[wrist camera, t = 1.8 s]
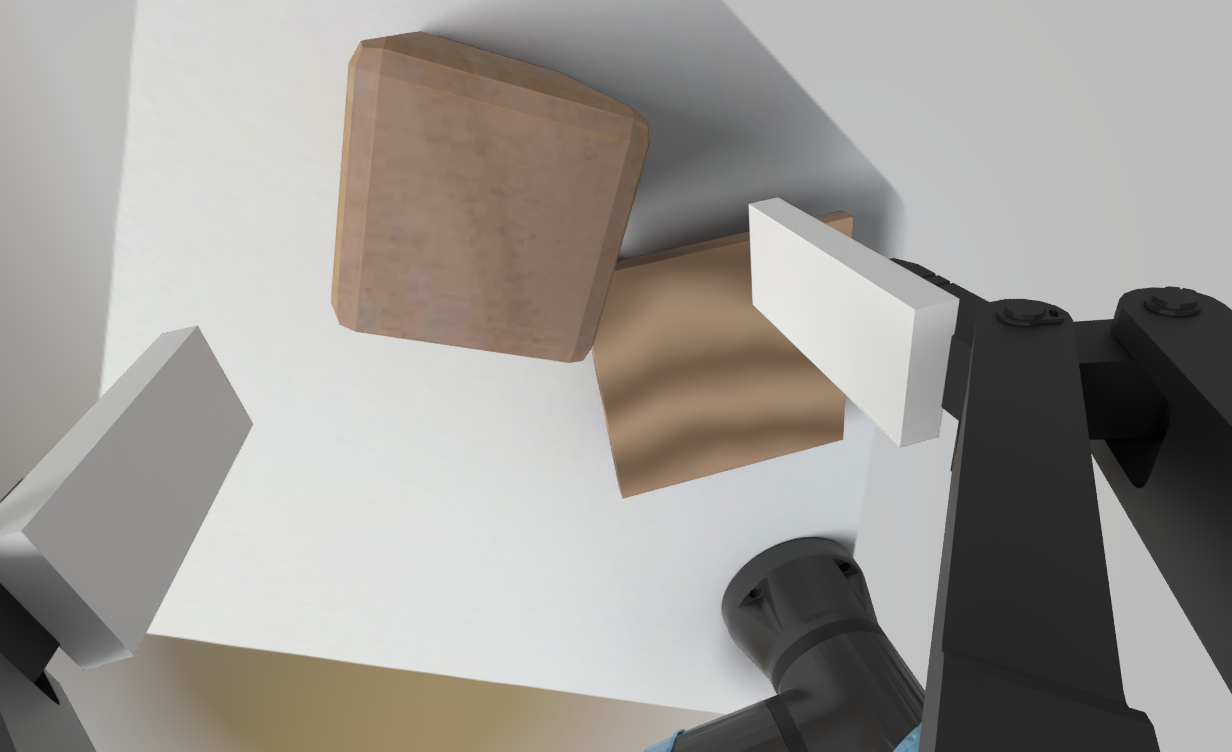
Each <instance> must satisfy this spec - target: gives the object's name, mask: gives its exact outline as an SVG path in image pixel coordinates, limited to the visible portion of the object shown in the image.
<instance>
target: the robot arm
mask: <svg viewBox="0 0 1232 752" xmlns="http://www.w3.org/2000/svg"><path fill="white" fill-rule="evenodd" d="M749 225H750V250H751V274H752V299H753V305H754V306H755V307H756V308H757V309H758V310H759V311H760V312H761V313H762V314H763V315H764V316H765V317H766V318H767V319H768V320H769V321H770V322H771V323H772V324H773V325H774V326H775V327H776V328H778V329H779V330H780V331H781V332H782V333H783V334H784V335H785V336H786V337H787V338H788V339H789V340H790V341H791V342H792V343H793V344H794V345H795V346H796V347H797V348H798V349H799V350H800V351H801V352H802V353H803V354H804V355H805V356H806V357H807V358H808V359H809V360H810V361H811V362H812V363H813V364H815V365H816V366H817V367H818V368H819V369H820V370H821V371H822V372H823V373H824V374H825V375H826V376H827V377H828V378H829V379H830V380H831V381H832V382H833V383H834V384H835V385H836V386H837V387H838V388H839V389H840V390H841V391H842V392H843V393H844V394H845V395H846V396H847V397H848V398H849V399H851V400H852V401H853V402H854V403H855V404H856V405H857V406H858V407H859V408H860V409H861V410H862V411H863V412H864V413H865V414H866V415H867V416H868V417H869V418H870V419H871V420H872V421H873V422H874V423H875V424H876V425H877V426H878V427H880V429H881V430H882V431H883V432H885V434H887V435H888V436H889V437H890V438H891V439H892V440H893V441H894V442H895V443H896V444H897V445H898V446H899V447H900V448H901V447H904V446H908V445H912V444H915V443H919V442H922V441H926V440H929V439H934V438H937V437H939V433H940V426H941V419H942V413H943V409H945V410H946V411H947V412H948V413H950V414H951V415H952V416H953V417H955V418H956V419H957V420H958V421H959V423H958V429H957V436H956V441H955V447H954V453H953V459H952V465H951V471H952V476H951V484H950V493H949V501H948V509H947V517H946V525H945V534H944V542H943V550H942V558H941V567H940V575H939V583H938V592H937V600H936V608H935V617H934V625H933V633H932V641H931V649H930V658H929V666H928V675H927V683H926V691H925V690H924V689H923V687H922V686H921V685H920V683H919V682H918V680H917V679H916V677H915V676H914V675H913V673H912V672H911V670H910V669H909V668H908V666H907V665H906V663H905V662H904V661H903V659H902V658H901V656H900V655H899V654H898V652H897V651H896V649H895V648H894V646H893V645H892V643H891V642H890V641H889V640H888V638H887V636H886V635H885V633H884V632H883V631H882V629H881V627H880V626H879V624H878V622H877V618H876V615H875V611H874V608H873V605H872V601H871V598H870V594H869V591H868V588H867V584H866V581H865V578H864V575H863V573H862V571H861V569H860V567H859V566H858V564H857V563H856V562H855V560H854V559H853V557H852V556H851V555H850V553H849V552H848V551H847V550H846V549H845V548H844V547H843V546H841V545H840V544H838V543H836V542H833V541H830V540H826V539H819V538H807V539H799V540H794V541H790V542H786V543H783V544H780V545H778V546H775V547H773V548H771V549H769V550H767V551H765V552H763V553H762V554H760V555H758V556H757V557H755V558H754V559H753V560H751V561H750V562H749V563H748V564H746V565H745V566H744V567H743V568H742V569H741V570H740V571H739V572H738V573H737V574H736V576H735V577H734V578H733V579H732V581H731V582H730V584H729V586H728V587H727V589H726V591H725V594H724V597H723V601H722V616H723V619H724V622H725V624H726V626H727V628H728V631H729V633H730V635H731V637H732V639H733V640H734V642H735V643H736V645H737V646H738V647H739V648H740V649H741V650H742V651H743V652H744V653H745V654H746V655H747V656H748V657H749V658H750V659H751V661H752V662H753V663H754V664H755V665H756V666H757V667H758V668H759V669H760V670H761V671H762V672H763V673H764V674H765V675H766V677H767V678H768V679H769V680H770V681H771V683H772V685H773V687H774V689H775V691H776V693H777V695H776V696H773V697H771V698H768V699H766V700H763V701H760V702H758V703H755V704H753V705H750V706H748V707H745V708H743V709H740V710H738V711H735V712H733V713H730V714H727V715H725V716H722V717H720V718H717V719H715V720H712V721H710V722H707V723H705V724H702V725H700V726H697V727H695V728H692V729H690V730H687V731H685V730H679V731H677V732H676V733H675V734H674V735H673V736H672V737H670V738H667V739H666V740H663V741H661V742H659V743H657V744H654V745H652V746H650V747H648V748H647V749H646V750H644V751H643V752H1160V750H1159V745H1158V742H1157V738H1156V734H1155V730H1154V726H1153V724H1152V723H1151V721H1150V720H1149V718H1148V716H1147V715H1146V713H1145V712H1142V711H1139V710H1135V709H1132V708H1129V707H1128V705H1127V703H1126V700H1125V696H1124V691H1123V685H1122V677H1121V670H1120V663H1119V656H1118V648H1117V640H1116V633H1115V626H1114V619H1113V611H1112V604H1111V597H1110V589H1109V582H1108V574H1107V567H1106V560H1105V553H1104V545H1103V537H1102V530H1101V523H1100V515H1099V508H1098V501H1097V493H1096V486H1095V479H1094V472H1093V464H1092V457H1091V454H1092V455H1093V457H1094V459H1095V460H1096V462H1097V464H1098V466H1099V467H1100V469H1101V471H1102V472H1103V474H1104V476H1105V478H1106V479H1107V481H1108V482H1109V484H1110V486H1111V488H1112V489H1113V491H1114V493H1115V494H1116V496H1117V498H1118V500H1119V502H1120V503H1121V505H1122V507H1123V508H1124V510H1125V511H1126V514H1127V515H1128V517H1129V519H1130V520H1131V522H1132V524H1133V526H1134V527H1135V529H1136V530H1137V532H1138V534H1139V536H1140V538H1141V539H1142V541H1143V543H1144V544H1145V546H1146V548H1147V549H1148V551H1149V553H1150V555H1151V556H1152V558H1153V560H1154V561H1155V563H1156V565H1157V566H1158V568H1159V570H1160V572H1161V573H1162V575H1163V577H1164V579H1165V580H1166V582H1167V584H1168V585H1169V587H1170V589H1171V591H1172V592H1173V594H1174V596H1175V597H1176V599H1177V601H1178V602H1179V604H1180V606H1181V608H1182V609H1183V611H1184V613H1185V615H1186V616H1187V618H1188V620H1189V621H1190V623H1191V625H1192V626H1193V628H1194V630H1195V632H1196V633H1197V635H1198V637H1199V639H1200V640H1201V642H1202V644H1203V645H1204V647H1205V649H1206V650H1207V652H1208V653H1209V656H1210V657H1211V659H1212V661H1213V662H1214V664H1215V666H1216V668H1217V669H1218V671H1219V673H1220V674H1221V676H1222V678H1223V680H1224V681H1225V683H1226V685H1227V686H1228V688H1229V690H1230V692H1231V693H1232V310H1231V309H1230V308H1229V307H1227V306H1226V305H1225V304H1223V303H1222V302H1220V301H1218V300H1216V299H1214V298H1212V297H1210V296H1207V295H1203V294H1200V293H1197V292H1196V291H1194V290H1190V289H1185V288H1183V289H1180V288H1179V287H1165V288H1144V289H1136V290H1133V291H1130V292H1127V293H1124V295H1123V296H1122V297H1121V298H1120V299H1119V302H1118V305H1117V309H1116V312H1115V315H1114V319H1108V320H1093V321H1079V322H1073V320H1072V318H1071V316H1070V315H1069V313H1068V312H1066V311H1064V310H1063V309H1061V308H1059V307H1057V306H1055V305H1051V304H1048V303H1045V302H1041V301H1034V300H1027V299H1004V300H999V301H993V302H988V301H986V300H984V299H982V298H980V297H979V296H977V295H975V294H973V293H971V292H969V291H967V290H965V289H964V288H962V287H960V286H958V285H956V284H954V283H951V284H950V281H949V280H947V279H945V278H943V277H941V276H939V275H938V276H936V275H935V273H934V272H932V271H930V270H928V269H926V268H924V267H922V266H920V265H919V264H915V263H911V262H907V261H903V260H899V259H895V258H892V259H887V258H885V257H884V256H882V255H880V254H878V253H876V252H875V251H873V250H871V249H869V248H868V247H866V246H864V245H862V244H860V243H859V242H857V241H855V240H853V239H851V238H850V237H848V236H846V235H844V234H842V233H841V232H839V231H837V230H835V229H834V228H832V227H830V226H828V225H826V224H825V223H823V222H821V221H819V220H817V219H816V218H814V217H812V216H810V215H808V214H807V213H805V212H803V211H801V210H800V209H798V208H796V207H794V206H792V205H791V204H789V203H787V202H785V201H783V200H782V199H780V198H778V197H777V198H772V199H768V200H763V201H759V202H754V203H750V204H749ZM252 425H253V423H252V421H251V419H250V417H249V416H248V414H247V412H246V410H245V409H244V407H243V405H242V403H241V402H240V400H239V398H238V396H237V394H236V393H235V391H234V389H233V387H232V386H231V384H230V382H229V380H228V378H227V377H226V375H225V373H224V371H223V370H222V368H221V366H220V364H219V363H218V361H217V359H216V357H215V355H214V354H213V352H212V350H211V348H210V347H209V345H208V343H207V341H206V339H205V338H204V336H203V334H202V332H201V331H200V329H199V327H198V326H194V327H189V328H185V329H180V330H175V331H171V332H166V333H162V334H161V335H160V336H159V337H158V338H157V339H156V340H155V341H154V343H153V344H152V345H151V346H150V347H149V348H148V349H147V350H146V351H145V352H144V353H143V354H142V355H141V356H140V357H139V358H138V359H137V360H136V361H135V362H134V364H133V365H132V366H131V367H130V368H129V369H128V370H127V371H126V372H125V373H124V374H123V375H122V376H121V377H120V378H119V379H118V380H117V381H116V382H115V384H114V385H113V386H112V387H111V388H110V389H109V390H108V391H107V392H106V393H105V394H104V395H103V396H102V397H101V398H100V399H99V400H98V401H97V402H96V404H95V405H94V406H93V407H92V408H91V409H90V410H89V411H88V412H87V413H86V414H85V415H84V416H83V417H82V418H81V419H80V420H79V421H78V422H77V424H76V425H75V426H74V427H73V428H72V429H71V430H70V431H69V432H68V433H67V434H66V435H65V436H64V437H63V438H62V439H61V440H60V441H59V442H58V443H57V445H56V446H55V447H54V448H53V449H52V450H51V451H50V452H49V453H48V454H47V455H46V456H45V457H44V458H43V459H42V460H41V462H39V463H38V465H37V466H36V467H35V468H34V469H33V470H32V471H31V472H30V473H29V474H28V475H27V476H26V477H25V478H23V479H22V480H20V481H19V482H18V483H17V484H16V485H15V486H14V487H13V488H12V489H11V490H10V491H9V492H8V494H7V495H6V496H5V497H4V498H3V499H2V500H1V501H0V752H96V750H95V748H94V746H93V744H92V743H91V741H90V739H89V737H88V735H87V733H86V731H85V729H84V728H83V726H82V724H81V722H80V720H79V718H78V716H77V715H76V713H75V711H74V709H73V707H72V705H71V704H70V702H69V700H68V698H67V696H66V694H65V692H64V690H63V688H62V687H61V685H60V683H59V682H58V681H57V680H56V679H55V678H54V677H52V675H50V674H49V673H48V672H47V671H46V670H45V667H46V665H47V664H48V662H49V661H50V659H51V658H52V656H53V655H54V653H55V651H56V650H57V648H58V647H60V648H61V649H62V650H63V651H64V652H65V653H66V654H67V655H68V656H69V657H70V658H71V659H72V660H73V661H74V662H75V663H76V664H77V665H78V666H79V667H80V668H81V669H82V670H85V669H89V668H93V667H96V666H99V665H104V664H107V663H111V662H115V661H118V660H122V659H126V658H129V657H133V656H135V654H136V652H137V650H138V648H139V646H140V644H141V642H142V640H143V638H144V636H145V634H146V632H147V630H148V628H149V626H150V624H151V622H152V620H153V618H154V616H155V615H156V613H157V611H158V609H159V607H160V605H161V603H162V601H163V599H164V597H165V595H166V593H167V591H168V589H169V587H170V585H171V583H172V581H173V579H174V577H175V576H176V574H177V572H178V570H179V568H180V566H181V564H182V562H183V560H184V558H185V556H186V554H187V552H188V550H189V548H190V546H191V544H192V542H193V540H194V538H195V537H196V535H197V533H198V531H199V529H200V527H201V525H202V523H203V521H204V519H205V517H206V515H207V513H208V511H209V509H210V507H211V505H212V503H213V501H214V499H215V497H216V496H217V494H218V492H219V490H220V488H221V486H222V484H223V482H224V480H225V478H226V476H227V474H228V472H229V470H230V468H231V466H232V464H233V462H234V460H235V458H236V457H237V455H238V453H239V451H240V449H241V447H242V445H243V443H244V441H245V439H246V437H247V435H248V433H249V431H250V429H251V427H252Z"/></svg>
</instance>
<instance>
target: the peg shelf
mask: <svg viewBox="0 0 1232 752" xmlns="http://www.w3.org/2000/svg"><path fill="white" fill-rule="evenodd" d="M814 218H816V219H817V220H819V221H821V222H823V223H825V224H826V225H828V226H830V227H832V228H834V229H835V230H837V231H839V232H841V233H842V234H844V235H846V236H848V237H850V238H851V239H852V231H853V216H851V215H849V214H847V213H845V212H842V211H838V212H833V213H829V214H824V215H820V216H816V217H814ZM591 350H592V355H593V360H594V365H595V370H596V375H597V380H598V385H599V390H600V395H601V400H602V405H603V410H604V415H605V420H606V425H607V430H608V435H609V440H610V445H611V450H612V455H613V460H614V465H615V470H616V476H617V481H618V486H619V489H620V492H621V495H622V498H626V497H630V496H634V495H638V494H641V493H645V492H649V491H653V490H656V489H660V488H664V487H668V486H671V485H675V484H679V483H682V482H686V481H690V480H694V479H697V478H701V477H705V476H709V475H712V474H716V473H720V472H724V471H727V470H731V469H735V468H739V467H742V466H746V465H750V464H753V463H757V462H761V461H765V460H768V459H772V458H776V457H780V456H783V455H787V454H791V453H795V452H798V451H802V450H806V449H810V448H813V447H817V446H821V445H824V444H828V443H832V442H836V441H839V440H843V431H844V408H845V394H844V393H843V392H842V391H841V390H840V389H839V388H838V387H837V386H836V385H835V384H834V383H833V382H832V381H831V380H830V379H829V378H828V377H827V376H826V375H825V374H824V373H823V372H822V371H821V370H820V369H819V368H818V367H817V366H816V365H815V364H813V363H812V362H811V361H810V360H809V359H808V358H807V357H806V356H805V355H804V354H803V353H802V352H801V351H800V350H799V349H798V348H797V347H796V346H795V345H794V344H793V343H792V342H791V341H790V340H789V339H788V338H787V337H786V336H785V335H784V334H783V333H782V332H781V331H780V330H779V329H778V328H776V327H775V326H774V325H773V324H772V323H771V322H770V321H769V320H768V319H767V318H766V317H765V316H764V315H763V314H762V313H761V312H760V311H759V310H758V309H757V308H756V307H755V306H754V305H753V299H752V274H751V250H750V231H749V232H745V233H740V234H736V235H731V236H727V237H723V238H718V239H714V240H709V241H705V242H701V243H696V244H692V245H687V246H683V247H678V248H674V249H670V250H665V251H661V252H656V253H652V254H647V255H643V256H639V257H634V258H630V259H625V260H621V261H617V263H616V266H615V270H614V274H613V277H612V281H611V284H610V288H609V291H608V295H607V299H606V302H605V306H604V309H603V313H602V317H601V320H600V324H599V327H598V331H597V335H596V338H595V342H594V344H593V346H592V348H591Z"/></svg>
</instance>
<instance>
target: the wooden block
mask: <svg viewBox="0 0 1232 752" xmlns="http://www.w3.org/2000/svg"><path fill="white" fill-rule="evenodd" d="M648 148H649V132H648V121H647V120H645V119H644V118H643V117H642V116H641V115H640V114H638V113H637V112H636V111H635V110H634V109H633V108H631V107H630V106H628V105H626V104H624V103H622V102H619V101H617V100H615V99H613V98H611V97H609V96H607V95H605V94H603V93H601V92H599V91H597V90H595V89H593V88H591V87H589V86H587V85H585V84H583V83H581V82H579V81H577V80H575V79H573V78H571V77H569V76H566V75H564V74H562V73H560V72H557V71H553V70H550V69H547V68H543V67H540V66H536V65H533V64H529V63H526V62H523V61H519V60H516V59H512V58H509V57H506V56H502V55H499V54H495V53H492V52H489V51H485V50H482V49H478V48H475V47H471V46H468V45H465V44H461V43H458V42H454V41H451V40H448V39H444V38H441V37H437V36H434V35H431V34H427V33H424V32H420V31H419V32H412V33H405V34H399V35H393V36H387V37H381V38H375V39H369V40H363V41H361V42H360V43H359V45H358V47H357V49H356V51H355V53H354V54H353V56H352V58H351V60H350V62H349V66H348V80H347V93H346V107H345V120H344V133H343V147H342V160H341V174H340V187H339V201H338V214H337V227H336V241H335V254H334V268H333V281H332V295H331V303H332V306H333V308H334V311H335V314H336V316H337V319H338V321H339V324H340V325H342V326H344V327H346V328H349V329H351V330H353V331H355V332H361V333H368V334H375V335H382V336H389V337H395V338H402V339H409V340H416V341H423V342H430V343H437V344H444V345H450V346H457V347H464V348H471V349H478V350H485V351H492V352H498V353H505V354H512V355H519V356H526V357H533V358H540V359H547V360H553V361H560V362H567V363H571V362H577V361H583V360H584V359H585V357H586V356H587V354H588V353H589V351H590V350H591V348H592V346H593V344H594V342H595V338H596V335H597V331H598V327H599V324H600V320H601V317H602V313H603V309H604V306H605V302H606V299H607V295H608V291H609V288H610V284H611V281H612V277H613V274H614V270H615V266H616V263H617V259H618V256H619V252H620V248H621V245H622V241H623V238H624V234H625V230H626V227H627V223H628V220H629V216H630V212H631V209H632V205H633V202H634V198H635V194H636V191H637V187H638V184H639V180H640V177H641V173H642V169H643V166H644V162H645V159H646V155H647V151H648Z"/></svg>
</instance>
